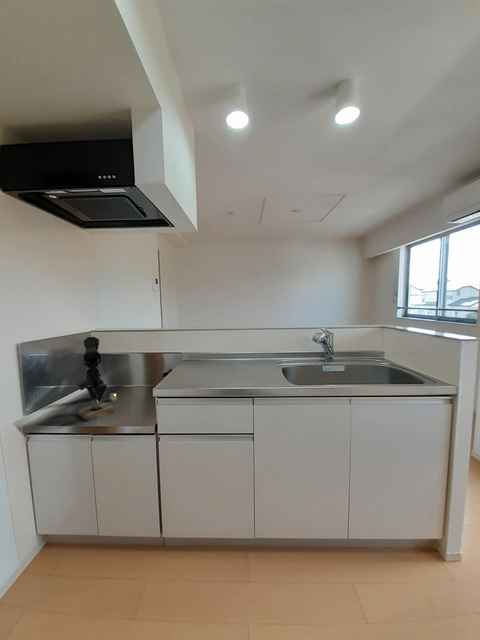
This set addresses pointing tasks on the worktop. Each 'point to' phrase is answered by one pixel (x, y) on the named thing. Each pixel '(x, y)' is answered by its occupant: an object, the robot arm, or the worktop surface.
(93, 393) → the robot arm
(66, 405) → the worktop surface
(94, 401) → the tall pin
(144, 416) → the worktop surface
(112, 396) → the short pin
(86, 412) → the hole plate
